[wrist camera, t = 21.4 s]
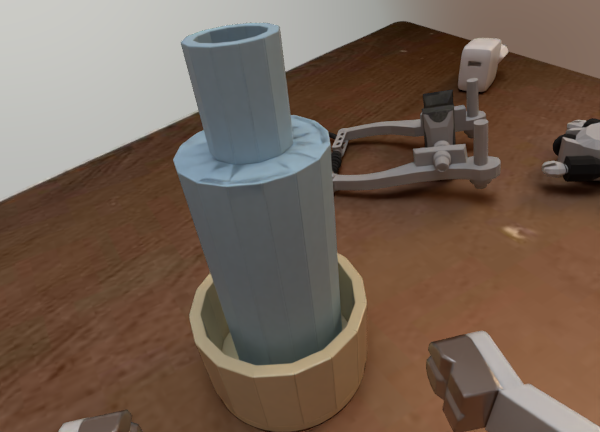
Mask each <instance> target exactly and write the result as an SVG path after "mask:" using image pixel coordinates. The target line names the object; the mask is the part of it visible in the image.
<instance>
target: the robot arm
mask: <svg viewBox="0 0 600 432" xmlns="http://www.w3.org/2000/svg"><path fill="white" fill-rule="evenodd" d="M428 351H429V353H430V355H431V356H430V357H429V358H428V359H427V362H426V370H427V375H428V379H429V382H430V384H431V387H432V389H433V391H434V393H435V394H436V395H437V396H439V397H440V398H442V399H443V400H444V403H443V409H442V410H443V412H444V414H445V416H446V418H447V420H448V422H449V424H450V426H451V428H452V430H453V432H466V431H470V430H475V429H480V428H485V427H486V428H485V430H487V431H488V432H600V427H599V426H598V425H596V424H594V423H593V422H591V421H589V420H588V419H586V418H585V417H583V416H581V415H580V414H578V413H576V412H575V411H573V410H571V409H570V408H568V407H567V406H565V405H563V404H562V403H560V402H558V401H557V400H555V399H554V398H552V397H550V396H549V395H547V394H545V393H544V392H542V391H541V390H539V389H537V388H536V387H534V386H532V385H531V384H525V385H524V384H523V382H522V381H521V380H520V378H519V377H518V375H517V374H516V373H515V371H514V370H513V368H512V367H511V365H510V364H509V363H508V361H507V360H506V358H505V357H504V356H503V354H502V353H501V351H500V350H499V348H498V347H497V346H496V344H495V343H494V341H493V340H492V338H491V337H490V336H489V334H488V333H486V332H485V331H478V332H473V333H469V334H463V335H459V336H455V337H451V338H447V339H442V340H438V341H434V342H431V343H430V344H429V348H428ZM131 421H132V415H131V413H130V412H129V411H128V410H122V411H118V412H113V413H109V414H104V415H100V416H95V417H91V418H84V419H80V420H75V421H71V422H67V423H64V424H63V425H62V427H61V428H60V430H59V431H58V432H142V429H141V427H140V426H139V424H136V423H133V422H131Z"/></svg>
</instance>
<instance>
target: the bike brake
mask: <svg viewBox="0 0 600 432" xmlns="http://www.w3.org/2000/svg"><path fill="white" fill-rule="evenodd" d="M423 101H424V109H422V113H421V114H420V120H405V121H389V122H378V123H372V124H366V125H361V126H356V127H351V128H347V129H346V128H344V129H340V130H339V131H338V135H336V134H333V133H330V132H328V133H329V137H330V138H333V139H335V142H334V144H333V146H332V148H333V153H332V154H331V162H332V178H333V192H335V191H337V190H371V189H379V188H385V187H392V186H398V185H404V184H410V183H417V182H425V181H434V180H444V179H470V182H471V183H472V184H474V186H475V188H477V189H483V188H486V187H487V184H489V183H490V182H491V181H492V179H494V178H496V177H497V176H499V175H500V163H501V161H500V160H499V159H498V158H496V157H490V156H488V120H486V114H485V113H484V112H483V111H478V79H477V78H471V79H468V80H467V112H466V108H465V106H464V105H461V106H455V107H454V104H453V90H447V91H441V92H434V93H427V94H423ZM457 131H464V133H465V134H467V135H468V137H469V138H474V157H467V151H466V144H459V145H455V132H457ZM385 134H395V135H406V136H415V137H416V136H424V139H425V148H418V149H413V155H414V162H412V163H409V164H406V165H403V166H400V167H397V168H394V169H390V170H387V171H383V172H378V173H372V174H365V175H338V174H337V172H338V169H339V168H340V166H341V161H342V160H341V158H342V156H343V154H344V152H345V149H346V146H347V144H348V141H349V140H351V139H356V138H361V137H367V136H373V135H385ZM343 142H346V143H345V144H344V143H343ZM337 143H338V145H336V144H337ZM342 147H344V148H343V149H342Z"/></svg>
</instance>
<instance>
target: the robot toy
mask: <svg viewBox="0 0 600 432" xmlns="http://www.w3.org/2000/svg"><path fill="white" fill-rule="evenodd" d="M553 151H554V152H555V154H556V155H558V162H557V161H549V162H545V163H544V164H543V165H542V171H543V173H544V174H545V175H546V176H549V177H559V176H562V175H563V178H564V180H565V181H567V182H568V181H600V120H598V119H593V118H592V119H589V120H587V121H585V120H576V121H573V122H571V123H568V124H567V130H566V134H564V135H561V136H559V137H558V138H557V139H556V140H555V141H554V143H553Z"/></svg>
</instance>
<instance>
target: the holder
mask: <svg viewBox="0 0 600 432" xmlns="http://www.w3.org/2000/svg"><path fill="white" fill-rule="evenodd" d="M337 258H338V274H339V289H340V305H341V321H342V332H341V333H340V334H339V335H338V336H337V337H336V338H335V339H334V340H333V341H332V342H331V343H329V344H328V345H327V346H326V347H325V348H324V349H323V350H321V351H319V352H316V353H314V354H312V355H309V356H307V357H305V358H302V359H300V360H298V361H296V362H293V363H288V364H272V365H257V366H256V365H253V364H250V363H247V362H244V361H241V360H239V357H238V355H237V352H236V349H235V345H234V342H233V339H232V336H231V333H230V330H229V327H228V324H227V321H226V318H225V315H224V312H223V309H222V306H221V303H220V300H219V297H218V294H217V291H216V288H215V285H214V282H213V279H212V276H211V273H210V274H209V275H208V276H207V277H206V279H205V280H204V281H203V282H202V284H201V285H200V286H199V287H198V289H197V290H196V293H195V297H194V300H193V304H192V307H191V311H190V314H189V319H190V324H191V328H192V332H193V337H194V341H195V344H196V347H197V349H198V351H199V354H200V356H201V358H202V361H203V363H204V365H205V368H206V370H207V372H208V375H209V377H210V379H211V382H212V384H213V386H214V389H215V391H216V393H217V394H218V395H219V397H220V398H221V400H222V402H223V403H224V405H225V406H226V407H227V408H228V410H229V411H230V412H232V413H233V414H234V415H235V416H236V417H237V418H239V419H240V420H242V421H243V422H245V423H247V424H249V425H251V426H253V427H256V428H260V429H263V430H268V431H274V432H291V431H299V430H303V429H307V428H310V427H313V426H315V425H318V424H320V423H322V422H324V421H326V420H327V419H329V418H331V417H332V416H334V415H335V414H336V413H338V412H339V411H340V410H341V409H342V408H343V407H344V406H345V405H346V404H347V403H348V402H349V401H350V400H351V398H352V397H353V396H354V394H355V393H356V391H357V389H358V387H359V385H360V383H361V380H362V378H363V375H364V370H365V365H366V359H367V300H366V294H365V289H364V283H363V279H362V277H361V276H360V274H359V273H358V272H357V271H356V269H355V268H354V267H353V266H352V264H351V263H350V262H349V261H348V259H347V258H346V257H344V256H342V255H340V254H339V253H337Z"/></svg>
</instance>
